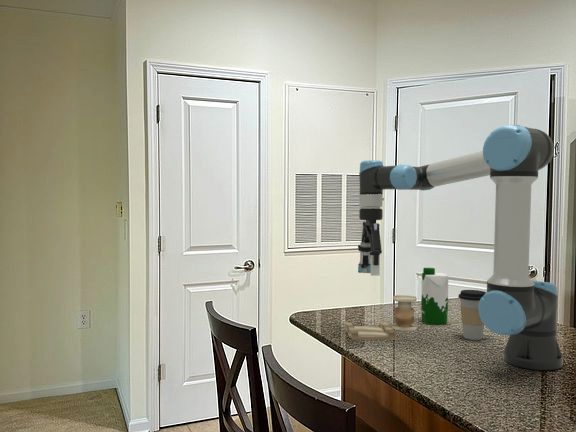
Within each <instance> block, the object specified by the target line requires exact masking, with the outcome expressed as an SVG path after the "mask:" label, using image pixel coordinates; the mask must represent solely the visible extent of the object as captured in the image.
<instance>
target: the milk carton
mask: <svg viewBox="0 0 576 432" xmlns="http://www.w3.org/2000/svg"><path fill="white" fill-rule="evenodd" d="M422 270H423V272H421V297H420V298H421V303H420V304H421V305H420V310H421V321H423V323H424V324H425V325H427V326H428V325H429V326H434V325H436V326H447V323H448V311H449V275H448V274H445V273H444V272H436V268H434V267H423V269H422Z"/></svg>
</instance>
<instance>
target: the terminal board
mask: <svg viewBox="0 0 576 432" xmlns="http://www.w3.org/2000/svg"><path fill="white" fill-rule="evenodd" d="M344 330H345V332H346V333H347V335H348V336H349V338H350V339H351V340H352V341H396V337H397V336H396V330H395V329H393V328H391V325H389V324H388V323H387V322H386V321H379V322H378V325H375V326H374V325H371V326H370V325H369V326H368V325H364V326H363V325H361V326H360V325H359V326H356V325H355V326H354V325H353V323H352V322H351V321H345V322H344Z"/></svg>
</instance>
